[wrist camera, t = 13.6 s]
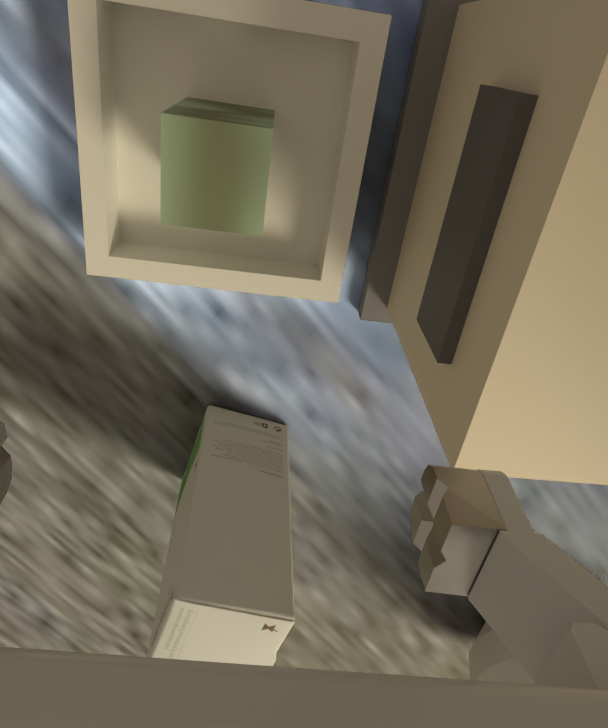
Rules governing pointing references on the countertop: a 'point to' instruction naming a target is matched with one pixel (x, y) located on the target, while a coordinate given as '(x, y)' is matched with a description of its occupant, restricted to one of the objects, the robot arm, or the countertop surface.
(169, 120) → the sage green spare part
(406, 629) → the countertop surface
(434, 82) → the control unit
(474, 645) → the soap bottle
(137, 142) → the parts tray
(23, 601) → the countertop surface
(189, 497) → the skincare box
